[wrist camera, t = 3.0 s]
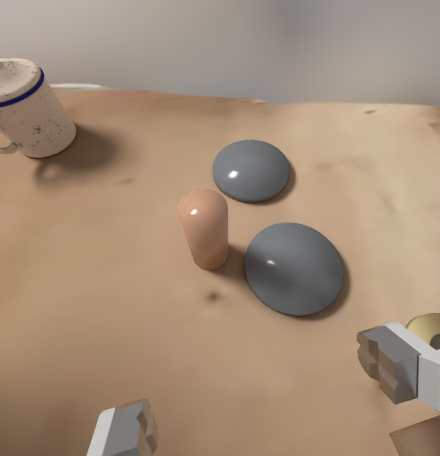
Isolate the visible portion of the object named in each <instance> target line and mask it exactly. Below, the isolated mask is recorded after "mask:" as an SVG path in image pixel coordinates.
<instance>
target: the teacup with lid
mask: <svg viewBox="0 0 440 456" xmlns="http://www.w3.org/2000/svg"><path fill="white" fill-rule="evenodd" d="M0 132H1V133H2V134H3V135H4V136H5V137H6V138H7V139H8V140H9V141H10V142H11V144H10V145H9V146H7V147H5V148H0V153H1V154H12V153H14V152H16V151H18V150H19V151H20V152H21V153H22V154H24V155H26V156H29V157H34V158H41V157H47V156H51V155H54V154H56V153H59V152H60V151H62V150H64V149H65V148H66V147H68V146H69V145H70V144H71V143H72V141H73V140H74V138H75V135H76V127H75V125H74V123H73V121H72V120H71V118H70V117H69V115H68V113H67V112H66V110H65V109H64V107H63V106H62V104H61V103H60V101H59V99H58V98H57V96H56V95H55V93H54V92H53V90H52V89H51V87H50V85H49V84H48V82H47V81H46V79H45V78H44V73H43V71H42V70H41V68H39V67H38V66H37V65H36V64H35V63H33V62H31V61H29V60H26V59H19V58H15V59H14V58H13V59H5V58H0Z"/></svg>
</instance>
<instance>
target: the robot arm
mask: <svg viewBox="0 0 440 456" xmlns="http://www.w3.org/2000/svg"><path fill="white" fill-rule="evenodd" d="M357 342H358V343H359V344H360V347H359V349H358V351H357V352H358V359H359V361H360V363H361V366H362V367H363V369H364V370H365V372H366V373H367V374H368V375H369V376H370V377H371V378H373V379H375V380H377V381H379V387H380V389H381V390H382V391H383V392H384V393H385V394H386V395H387V397H388V398H389V399H390V400H391V401H392V402H393V403H394V404H395V405H396V404H399V403H402V402H405V401H409V400H412V399H415V398H418V400H420V401H422V402H424V403H426V404H427V405H429V406H431V407H433V408H435V409H437V410H438V411H440V349H439V350H435V349H434V348H432V347H431V346H430V345H428V344H427V343H426V342H424V341H423V340H421V339H420V338H419V337H417V336H416V335H414V334H413V333H412V332H410V331H409V330H408V329H406V328H405V327H403V326H402V325H401V324H399V323H398V322H395V321H393V322H390V323H387V324H384V325H381V326H377V327H374V328H371V329H368V330H365V331H362V332H359V333H358V334H357ZM149 412H150V404H149V402H148V400H147V399H142V400H138V401H135V402H131V403H128V404H124V405H120V406H117V407H114V408H111V409H107V410H104V411H102V413H101V414H100V416H99V418H98V421H97V424H96V428H95V431H94V434H93V437H92V440H91V443H90V447H89V450H88V453H87V456H153V454H154V452H155V450H156V449H157V443H158V433H157V424H156V420H155V417H154V415H153V414H151V413H149Z"/></svg>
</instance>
